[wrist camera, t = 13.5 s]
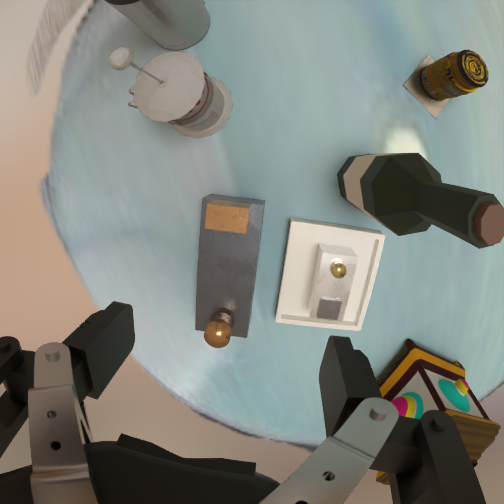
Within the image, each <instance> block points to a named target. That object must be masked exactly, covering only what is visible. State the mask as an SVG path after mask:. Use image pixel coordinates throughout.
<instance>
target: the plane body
mask: <svg viewBox="0 0 504 504" xmlns="http://www.w3.org/2000/svg"><path fill="white" fill-rule="evenodd" d="M264 205H265V200H257V199H249V198H241V197H232V196H223V195H214V194H210V195H208V196H206V197H204V198H203V201H202V214H201V227H200V241H199V257H198V275H197V297H196V324H195V330H200V331H205V333H204V338H205V341H206V342H207V343H208V344H209V345H210V346H212V347H215V348H222V347H225V346H226V345H227V344H228V343H229V340H230V337H231V336H237V337H244V338H247V335H248V329H249V324H250V317H251V309H252V301H253V293H254V285H255V278H256V270H257V262H258V254H259V246H260V238H261V230H262V222H263V214H264Z"/></svg>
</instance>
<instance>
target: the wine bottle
mask: <svg viewBox="0 0 504 504" xmlns="http://www.w3.org/2000/svg"><path fill="white" fill-rule="evenodd" d="M337 176H338V182H339V188H340V194H341V196H342V197H343V198H344V199H346V200H347V201H348V202H350V203H351V204H352V205H354V206H355V207H356V208H358V209H359V210H361V211H362V212H364V213H365V214H367V215H368V216H370V217H371V218H373V219H375V220H376V221H378V222H379V223H381V224H382V225H384V226H385V227H386V228H388V229H389V230H391V231H392V232H394V233H395V234H397V235H398V236H401V235H406V234H412V233H417V232H423V231H427V229H428V228H429V227H430V226H431V224H433V225H435V226H437V227H439V228H441V229H443V230H445V231H447V232H449V233H451V234H453V235H455V236H457V237H459V238H461V239H462V240H464V241H466V242H468V243H470V244H472V245H474V246H476V247H477V248H479V249H480V248H484V247H488V246H492V245H494V244H497V243H500V241H501V240H502V238H503V236H504V208H503V206H502V205H501V204H500V202H499V201H498V200H497V198H496V197H495V196H494V194H490V193H486V192H481V191H477V190H473V189H469V188H464V187H460V186H455V185H450V184H445V183H442V181H441V175H440V173H439V172H438V171H437V170H436V169H435V168H434V167H433V166H432V165H431V164H430V163H429V162H427V161H426V160H425V159H424V158H423V157H422V156H421V155H420V154H419V153H389V154H367V155H359V156H352V157H349V158H348V160H347V161H346V162H345V164H344V165H343V167H342V168H341V170H340V171H339V172H338V174H337Z"/></svg>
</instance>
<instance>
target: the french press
mask: <svg viewBox="0 0 504 504" xmlns="http://www.w3.org/2000/svg"><path fill="white" fill-rule="evenodd" d="M132 60H133V53H132V51H131V50H130V49H128V48H125V47H119V48H116V49H115V50H114V51H113V52H112V53H111V54H110V58H109V63H110V64H111V66H112V68H113V69H116V70H123V69H126V68H127V67H128V66H129V65H131V66H133V67H135V68H136V69H138V70H140V72H139V74H138V75H137V77H136V81H135V85H134V87H131V88H130V89H129V93H130V94H132V95H134V100H131V101H130V102H129V103H128V106H131V107H134V108H138V109H139V110H140V112H141V114H143V115H145V116H146V117H148V118H149V119H151V120H154V121H162V122H169V123H171V124H173V125H174V126H175V128H176V130H178V131H180V132H181V133H183V134H184V135H186V136H190V137H196V138H201V137H205V136H209V135H212V134H214V133H215V132H217V131H218V130H220V129H221V128H223V126H224V125H225V123H226V122H227V120H228V119H229V118H230V115H231V110H232V106H233V103H232V98H231V93H230V91H229V90H228V88H227V87H226V86H225V84H224V83H223V82H221V81H219V80H218V79H216V78H214V77H210V76H208V75H207V74H206V73H205V72H204V71H203V68H202V67H201V65H200V64H199V62H198V61H197V60H196V58H194V57H192V56H190V55H188V54H186V53H184V52H167V53H164V54H161V55H158V56H156V57H154V58H153V59H152V60H150V61H149V62H148V63H146V64H145V65H144V67H143V68H140V67H138V66H137V65H135V64H133V63H132ZM204 75H205V76H204ZM132 89H133V93H132V92H131V90H132ZM134 101H135V104H136V106H133V105H131V104H130V103H131V102H134Z"/></svg>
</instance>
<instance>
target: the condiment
mask: <svg viewBox="0 0 504 504" xmlns="http://www.w3.org/2000/svg"><path fill="white" fill-rule="evenodd" d="M418 79H419V80H418ZM487 81H488V70H487V67H486V65H485V63H484V61H483V60H482V59H481V57H480V56H479V55H478V54H476V53H475V52H473V51H470V50H463V51H461V52H453V53H450V54H449V55H447V56H445V57H443V58H441V59H439V60H437V61H436V62H435V61H434V60H433V59H432V58H431V57H430V56H429V55H428V56H427V57H426V58H425V59H424V60H423V62H422V63H421V64H420V65H419V67H418V68H417V69H416V70H415V72H414V73H413V74H412V75H411V76H410V78H409V79H408V80H407V82H406V83H405V84H404V86H405V87H406V88H407V89H408V91H410V92H411V93H412V94H413V95H414V97H415V98H416V99H417V100H418V101H419V102H420V103H421V104H422V105H423V106H424V107H425V108H426V109H427V110H428V111H429V112H430V113H431V114H432V115H433V116H434V117H435V119H436V118H437V116H438V115H439V113H440V112H441V111H442V109H443V108H444V107H445V105H446V104H447V102H448V101H449V100H450V98H453V97H458V96H460V95H465V94H468V93H471V92H473V91H475V90H476V89H477V88H479V87H483V86H484V85H485V84H486V83H487ZM431 100H435V101H431Z"/></svg>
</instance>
